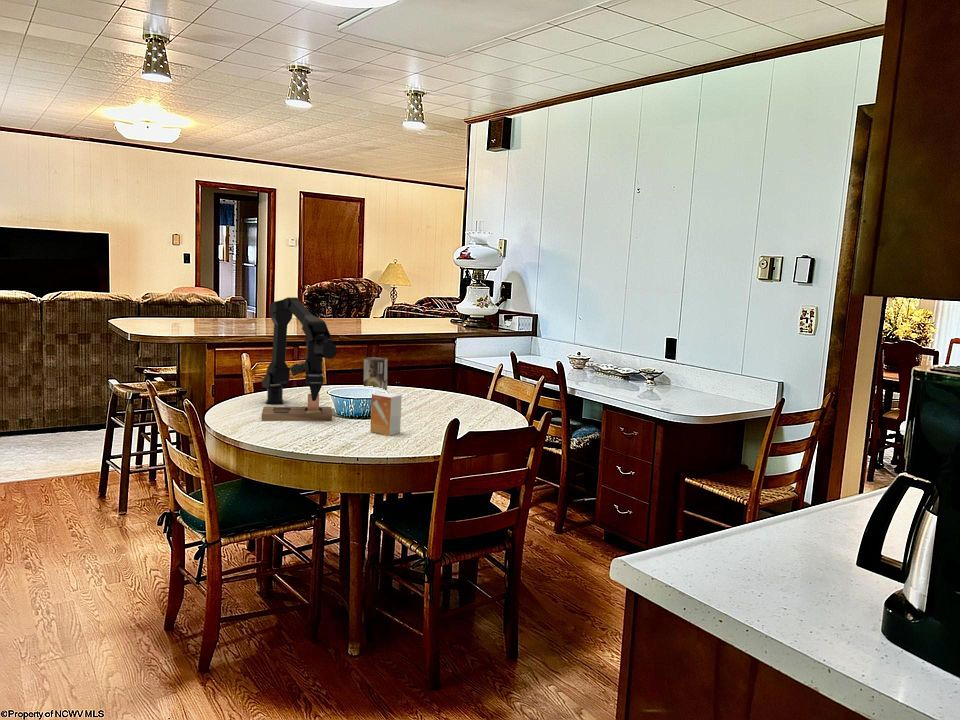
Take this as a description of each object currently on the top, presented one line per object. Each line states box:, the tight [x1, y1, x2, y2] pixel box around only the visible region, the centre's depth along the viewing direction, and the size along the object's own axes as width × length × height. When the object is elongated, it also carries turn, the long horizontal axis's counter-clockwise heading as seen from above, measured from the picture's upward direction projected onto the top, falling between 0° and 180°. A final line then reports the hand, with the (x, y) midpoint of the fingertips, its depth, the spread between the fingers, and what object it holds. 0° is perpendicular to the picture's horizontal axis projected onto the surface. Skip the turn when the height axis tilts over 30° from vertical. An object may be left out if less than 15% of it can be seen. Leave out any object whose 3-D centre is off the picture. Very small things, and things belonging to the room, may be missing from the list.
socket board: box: [261, 406, 333, 422], centre depth 264 cm, size 12×24×3 cm, turn 103°
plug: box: [307, 393, 320, 411], centre depth 266 cm, size 4×4×8 cm
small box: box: [370, 392, 403, 437], centre depth 247 cm, size 8×6×13 cm
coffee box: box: [363, 356, 389, 391], centre depth 310 cm, size 9×6×16 cm
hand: (313, 398), depth 265 cm, fingers open, 9 cm apart
